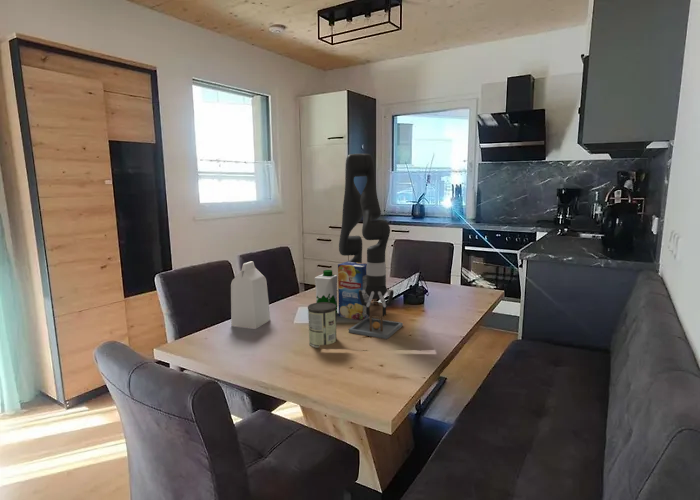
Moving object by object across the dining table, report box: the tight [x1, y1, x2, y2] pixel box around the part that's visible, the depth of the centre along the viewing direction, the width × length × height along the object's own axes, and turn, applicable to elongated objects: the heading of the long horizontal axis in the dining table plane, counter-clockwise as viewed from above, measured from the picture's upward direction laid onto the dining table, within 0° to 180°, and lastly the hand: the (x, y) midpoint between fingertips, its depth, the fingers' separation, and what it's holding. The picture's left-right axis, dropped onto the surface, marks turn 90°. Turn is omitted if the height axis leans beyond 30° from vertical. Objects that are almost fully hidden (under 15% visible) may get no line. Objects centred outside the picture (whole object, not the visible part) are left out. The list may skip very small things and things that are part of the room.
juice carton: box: [337, 261, 370, 321], centre depth 181 cm, size 12×8×24 cm, turn 60°
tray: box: [348, 317, 404, 340], centre depth 166 cm, size 16×16×2 cm
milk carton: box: [314, 269, 338, 314], centre depth 185 cm, size 9×9×20 cm
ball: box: [372, 322, 380, 329], centre depth 166 cm, size 3×3×3 cm
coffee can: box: [307, 302, 337, 349], centre depth 154 cm, size 10×10×14 cm
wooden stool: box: [369, 300, 384, 331], centre depth 165 cm, size 5×5×11 cm
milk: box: [230, 260, 271, 330], centre depth 177 cm, size 12×12×26 cm
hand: (376, 315), depth 165 cm, fingers closed on wooden stool, 5 cm apart
